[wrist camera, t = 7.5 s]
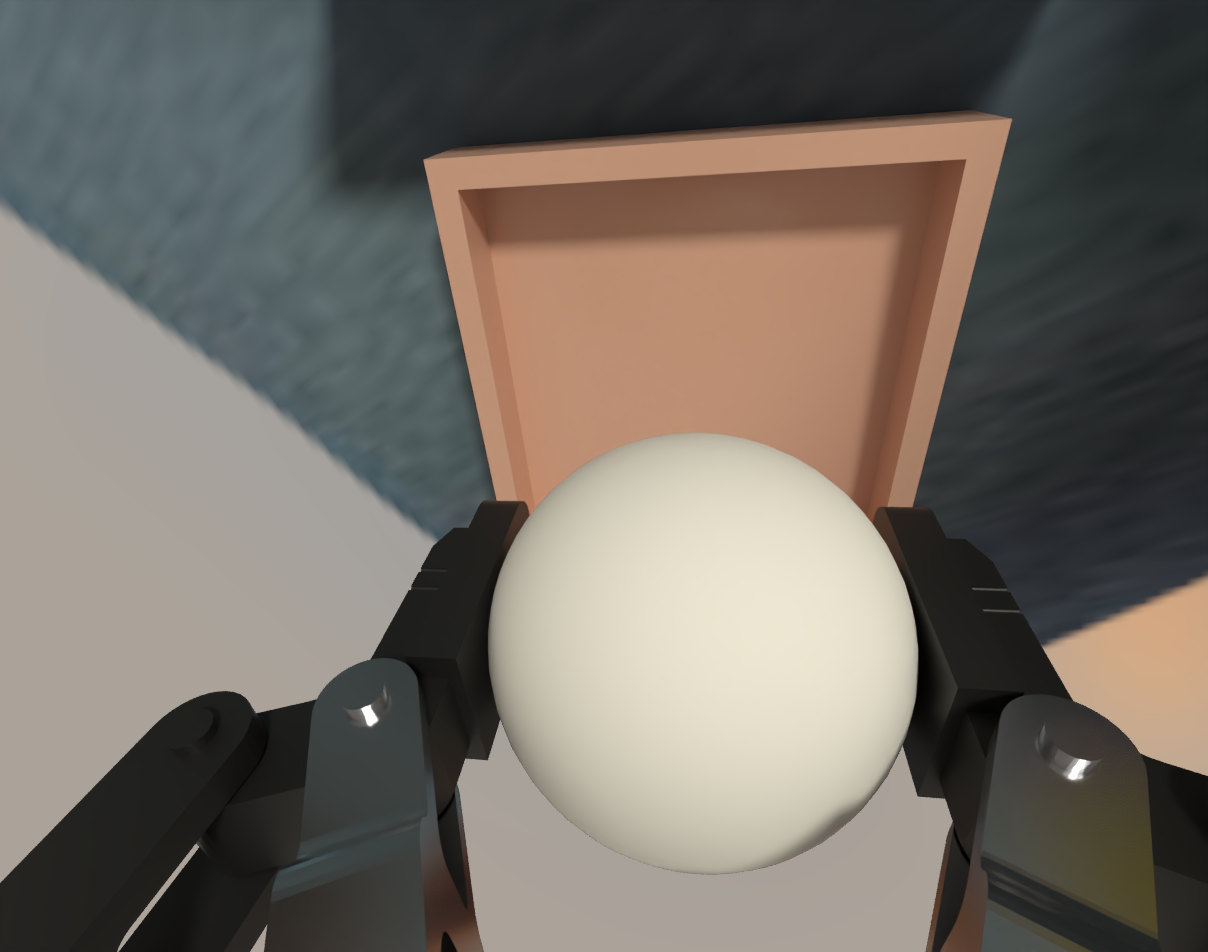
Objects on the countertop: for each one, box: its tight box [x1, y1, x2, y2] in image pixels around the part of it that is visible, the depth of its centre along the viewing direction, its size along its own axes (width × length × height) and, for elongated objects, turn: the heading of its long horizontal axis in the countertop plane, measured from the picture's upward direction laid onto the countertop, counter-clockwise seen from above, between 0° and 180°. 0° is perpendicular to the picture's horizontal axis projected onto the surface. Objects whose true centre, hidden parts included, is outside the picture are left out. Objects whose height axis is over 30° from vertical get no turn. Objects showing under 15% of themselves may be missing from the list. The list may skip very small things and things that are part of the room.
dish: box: [424, 110, 1012, 524], centre depth 16 cm, size 11×11×2 cm
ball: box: [488, 432, 919, 874], centre depth 9 cm, size 6×6×6 cm
